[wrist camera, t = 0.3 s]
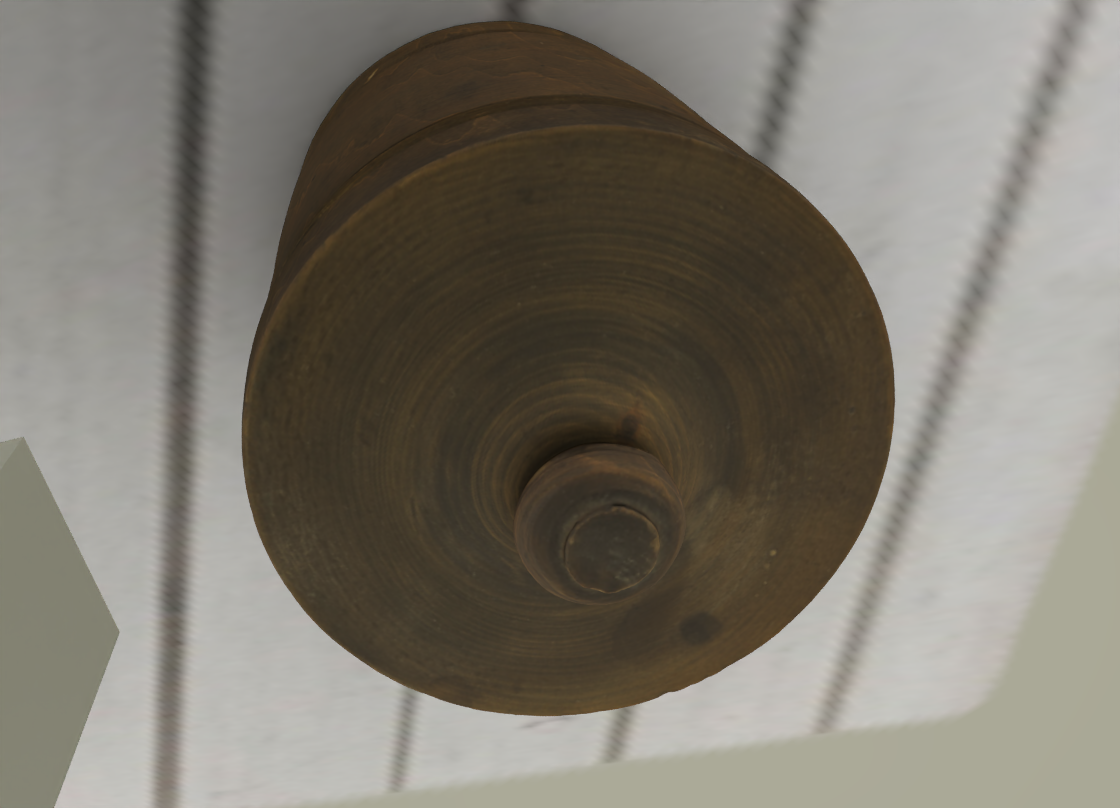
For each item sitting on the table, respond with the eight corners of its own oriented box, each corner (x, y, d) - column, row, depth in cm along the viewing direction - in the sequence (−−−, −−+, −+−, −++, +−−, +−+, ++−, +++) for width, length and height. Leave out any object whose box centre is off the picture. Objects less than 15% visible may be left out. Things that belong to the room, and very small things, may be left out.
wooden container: (642, 436, 44) (844, 864, 24) (272, 383, 41) (159, 826, 21) (744, 69, 39) (1115, 236, 19) (325, -26, 35) (238, 54, 16)
